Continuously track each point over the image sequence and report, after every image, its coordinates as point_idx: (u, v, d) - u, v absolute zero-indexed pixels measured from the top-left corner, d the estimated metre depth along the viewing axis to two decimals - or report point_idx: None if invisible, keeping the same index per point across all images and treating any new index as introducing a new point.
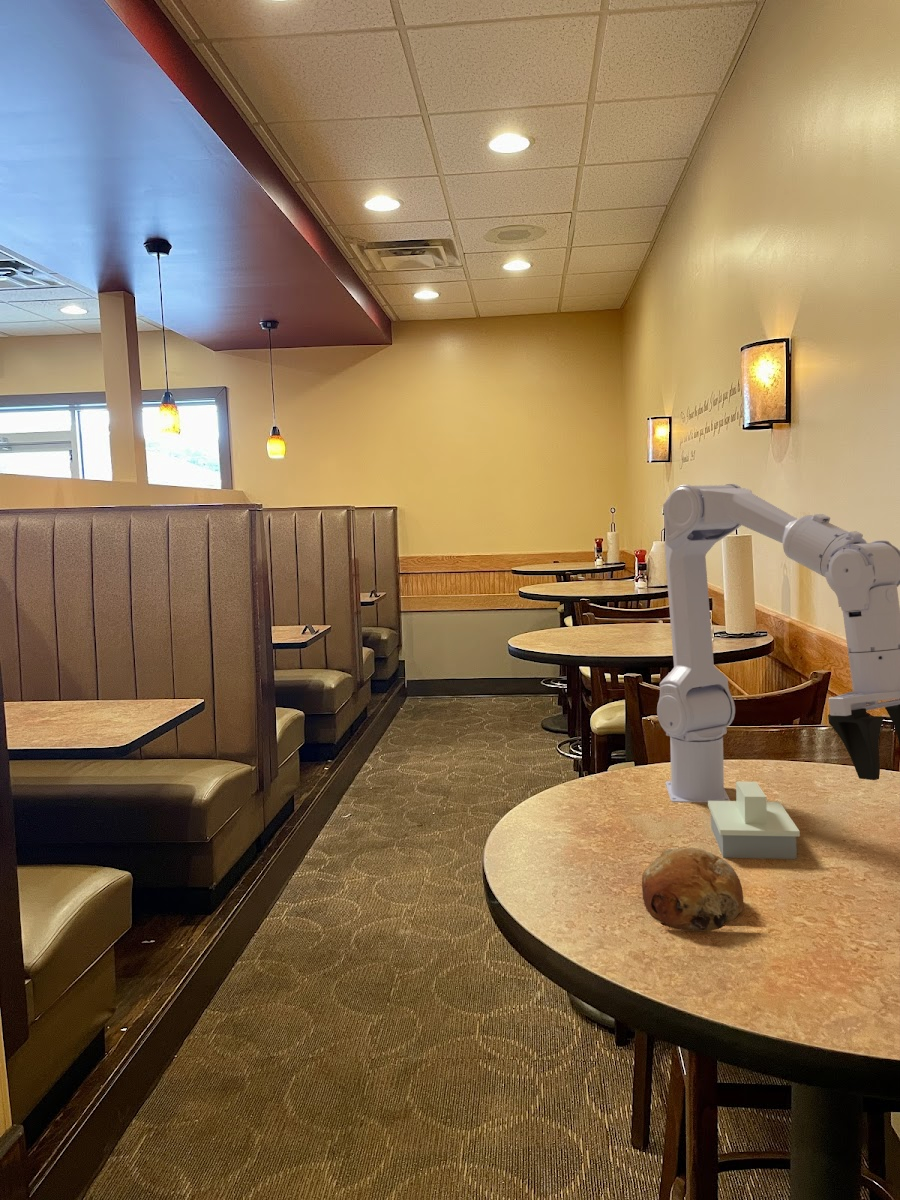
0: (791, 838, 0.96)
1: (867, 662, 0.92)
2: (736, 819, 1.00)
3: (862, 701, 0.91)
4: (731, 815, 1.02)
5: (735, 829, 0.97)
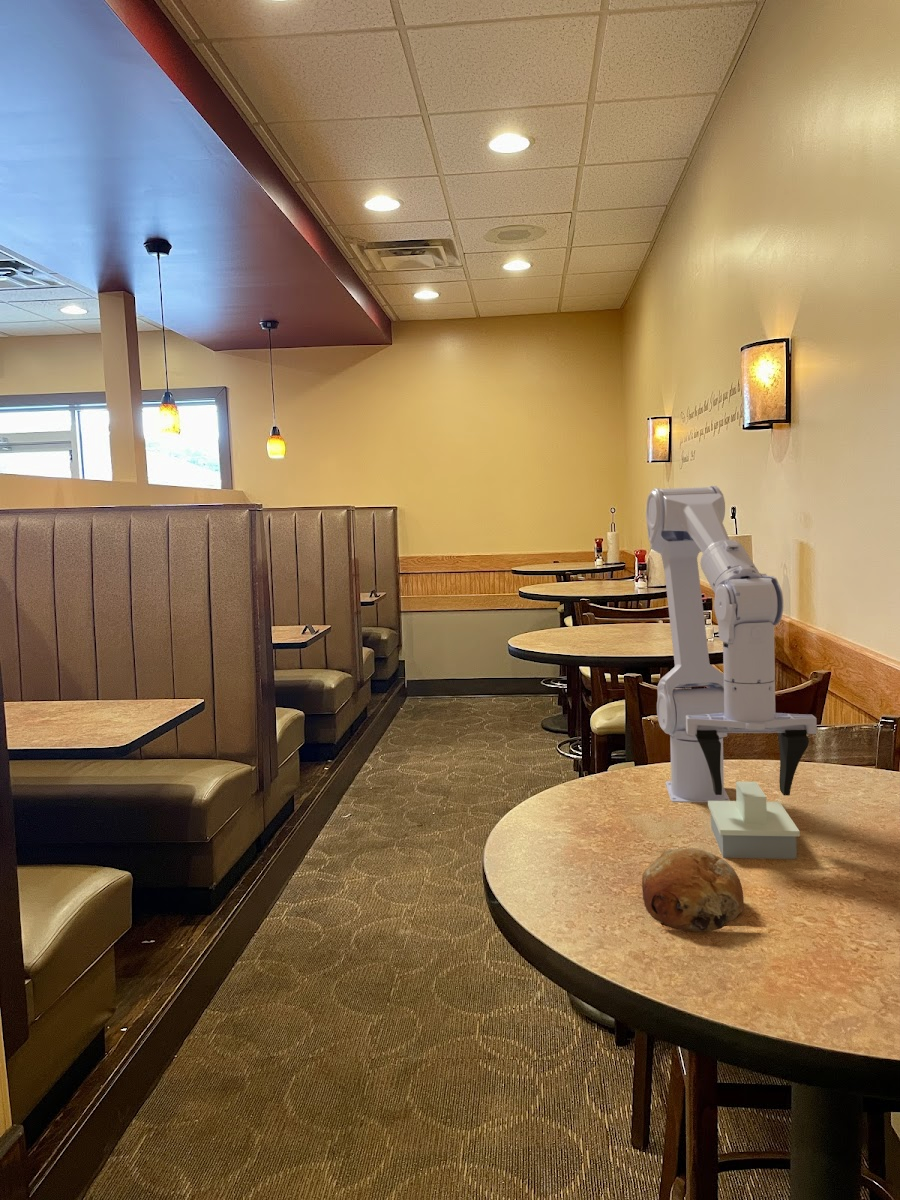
0: (791, 838, 0.96)
1: (726, 690, 1.00)
2: (736, 819, 1.00)
3: (707, 724, 1.00)
4: (731, 815, 1.02)
5: (735, 829, 0.97)
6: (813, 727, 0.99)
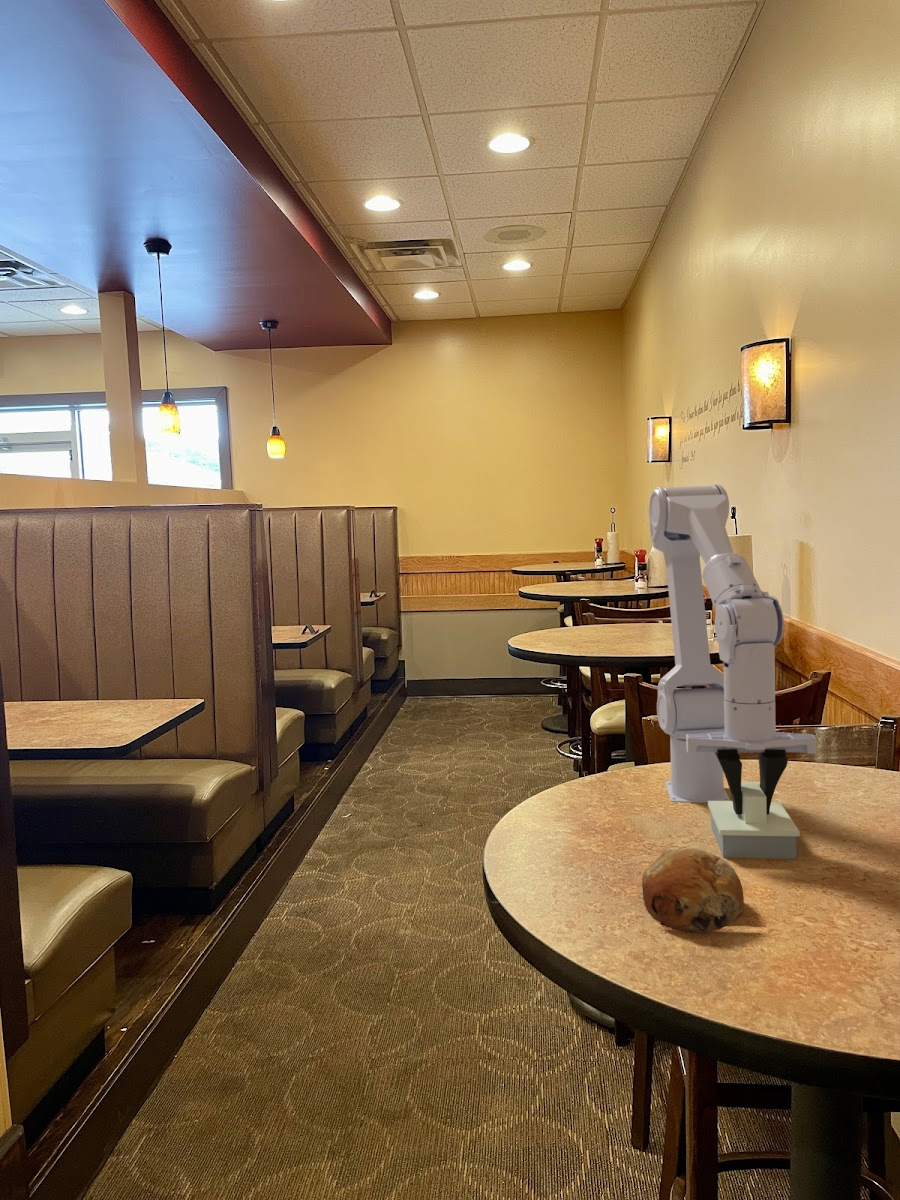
0: (791, 838, 0.96)
1: (726, 710, 1.00)
2: (736, 819, 1.00)
3: (708, 744, 1.00)
4: (731, 815, 1.02)
5: (735, 829, 0.97)
6: (813, 747, 0.99)
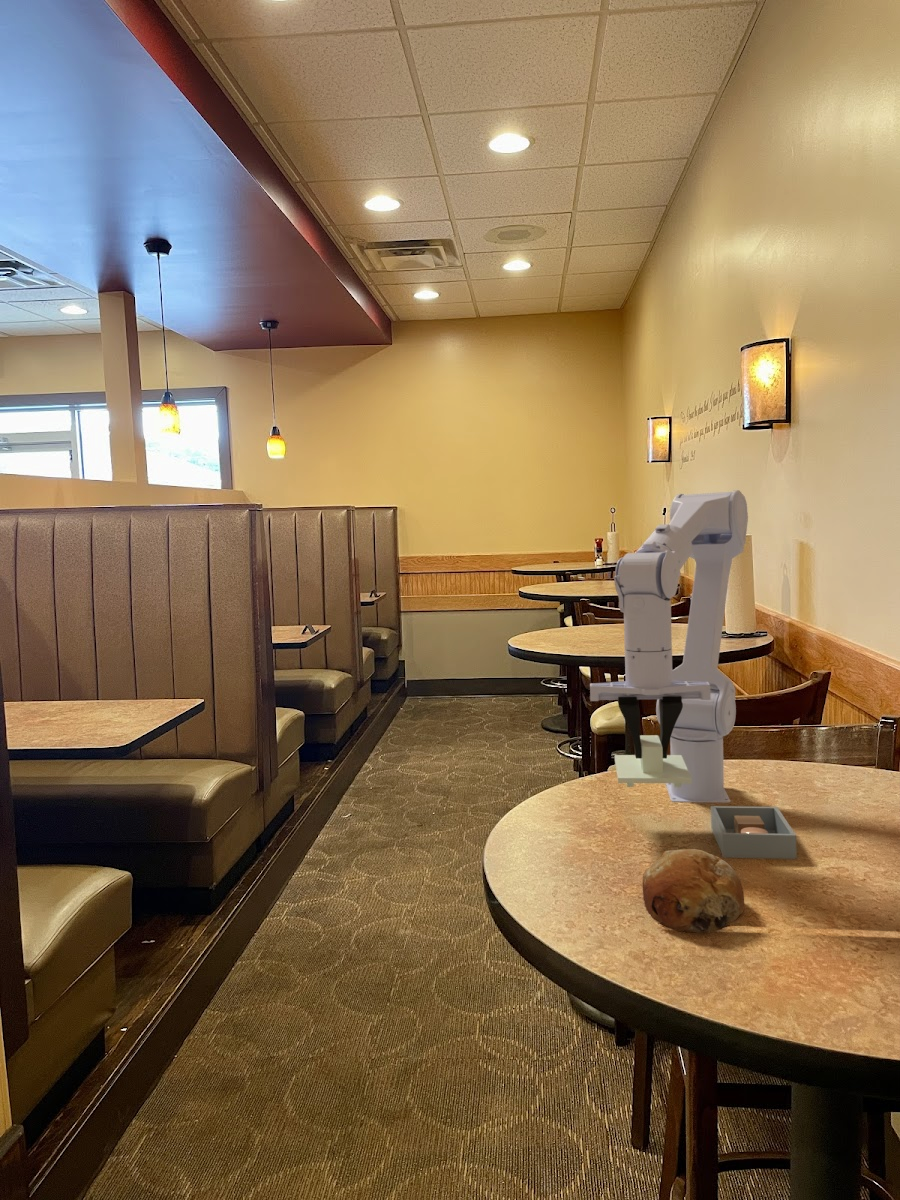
0: (791, 838, 0.96)
1: (626, 659, 1.05)
2: (635, 769, 1.06)
3: (608, 691, 1.05)
4: (632, 766, 1.07)
5: (632, 777, 1.02)
6: (707, 693, 1.04)
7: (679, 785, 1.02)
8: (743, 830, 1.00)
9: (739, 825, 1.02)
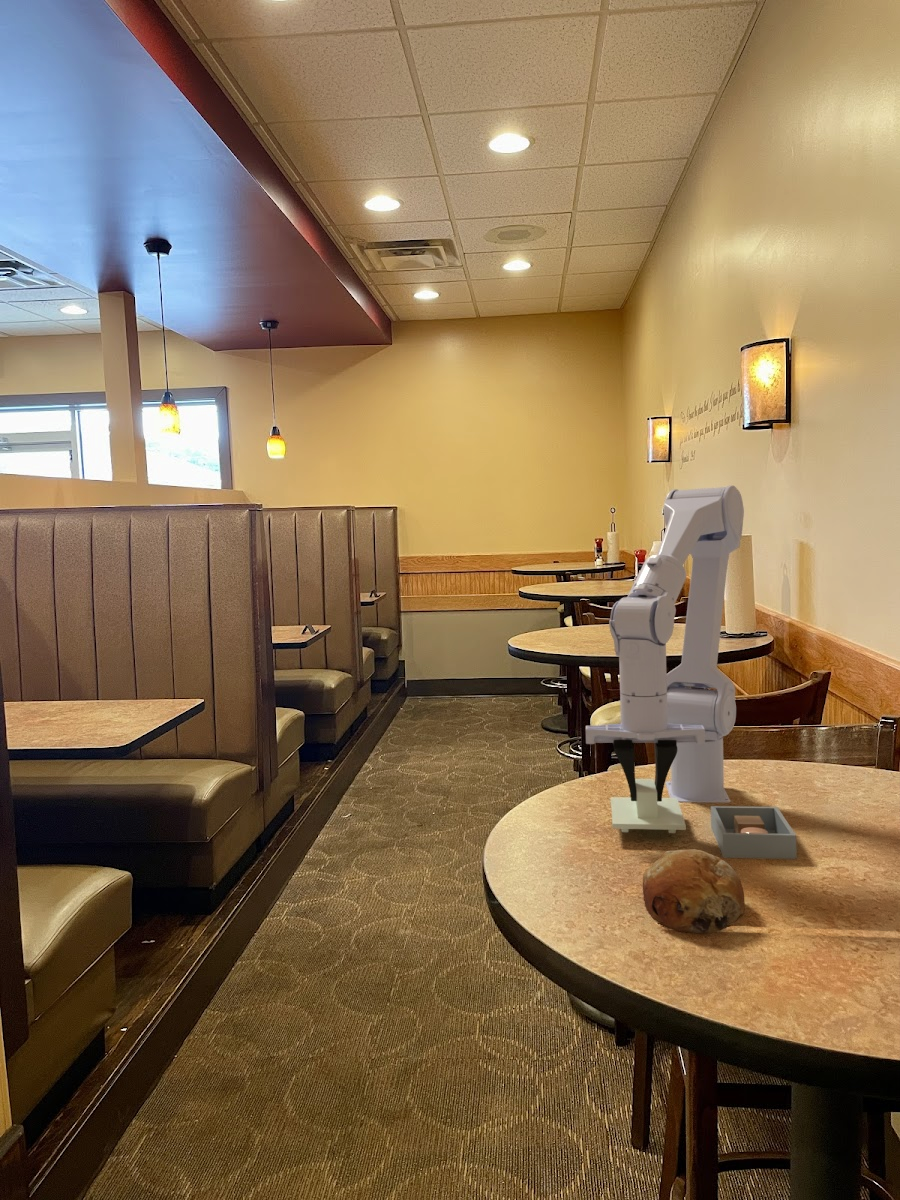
0: (791, 838, 0.96)
1: (621, 702, 1.06)
2: (630, 813, 1.06)
3: (604, 735, 1.06)
4: (627, 810, 1.08)
5: (626, 823, 1.03)
6: (702, 737, 1.05)
7: (673, 831, 1.03)
8: (743, 830, 1.00)
9: (739, 825, 1.02)
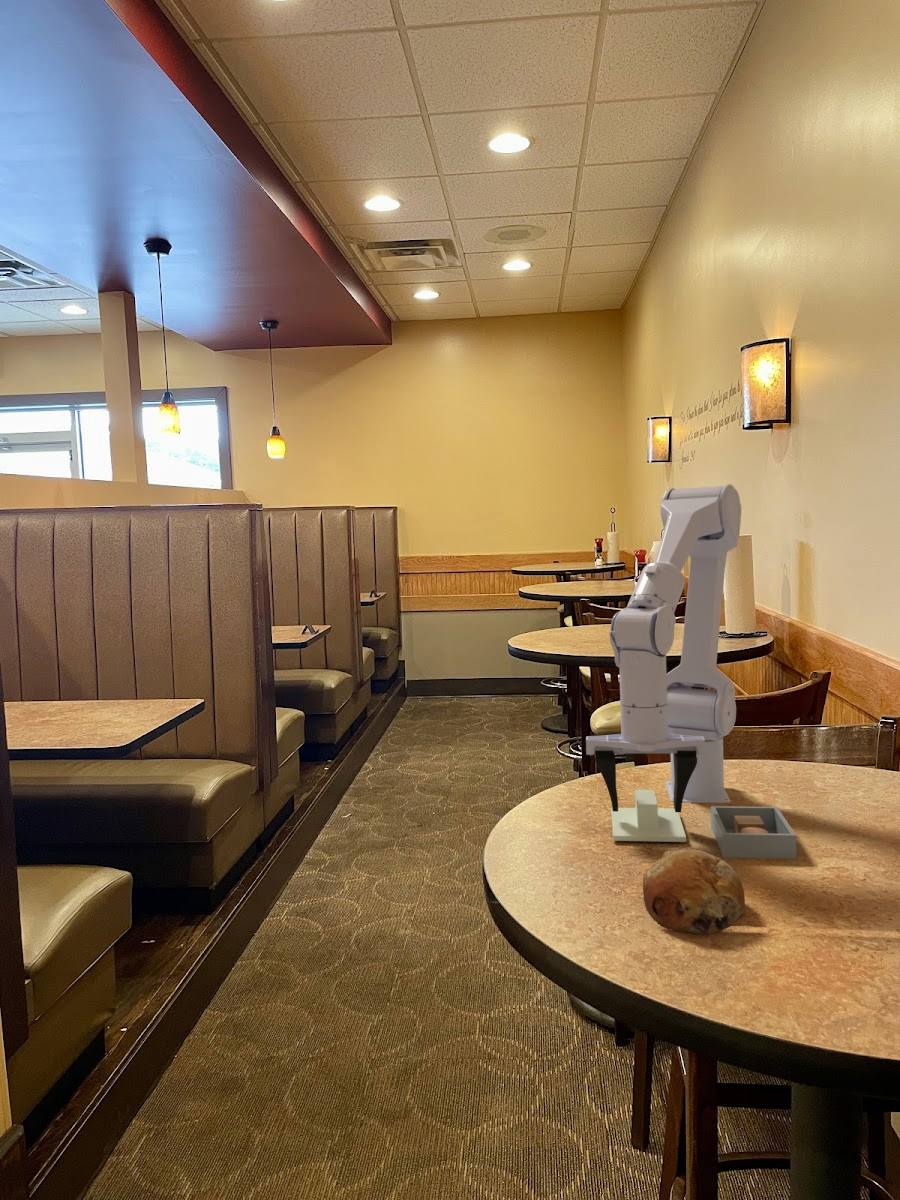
0: (791, 838, 0.96)
1: (622, 713, 1.06)
2: (631, 825, 1.07)
3: (604, 745, 1.06)
4: (628, 822, 1.08)
5: (627, 835, 1.03)
6: (702, 748, 1.05)
7: None
8: (743, 830, 1.00)
9: (739, 825, 1.02)
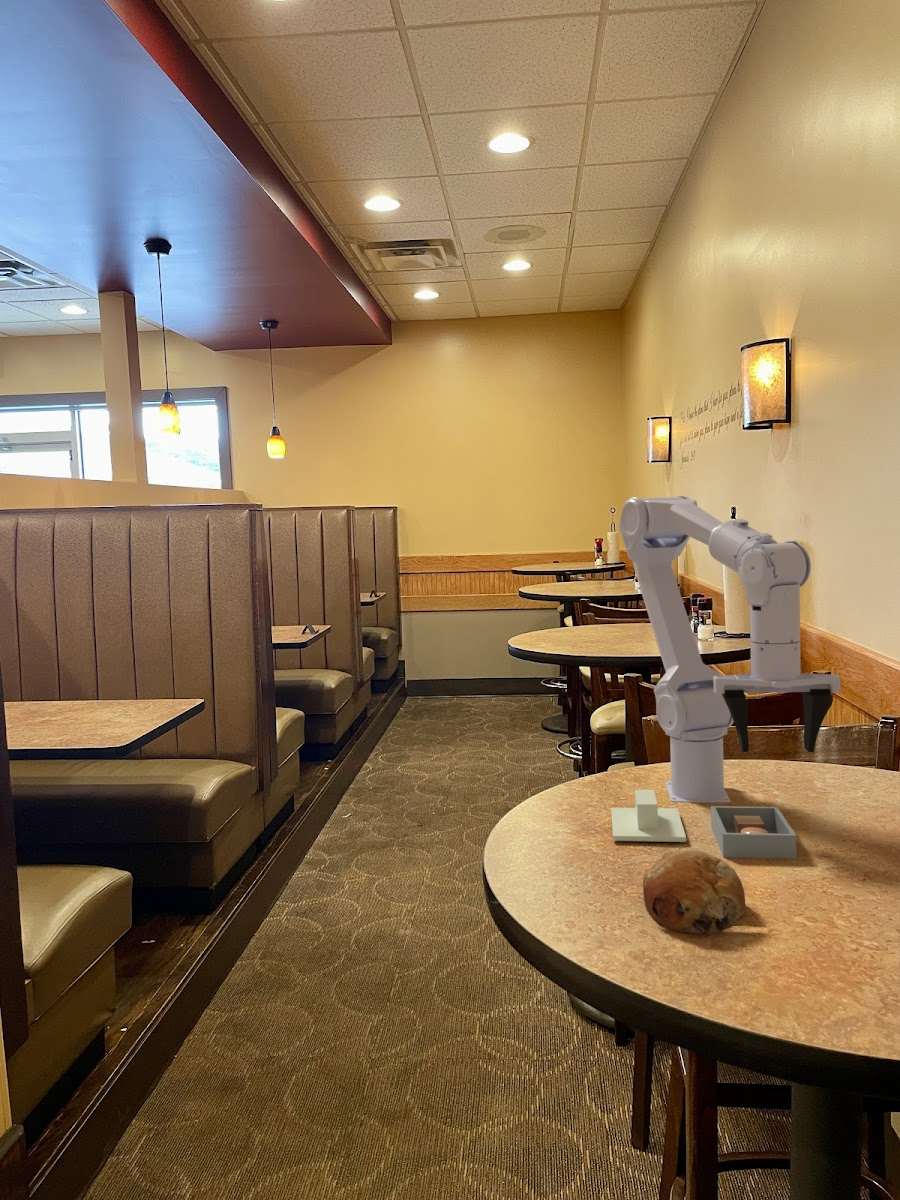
0: (791, 838, 0.96)
1: (753, 651, 1.04)
2: (631, 825, 1.07)
3: (735, 684, 1.04)
4: (628, 822, 1.08)
5: (627, 835, 1.03)
6: (837, 686, 1.02)
7: None
8: (743, 830, 1.00)
9: (739, 825, 1.02)
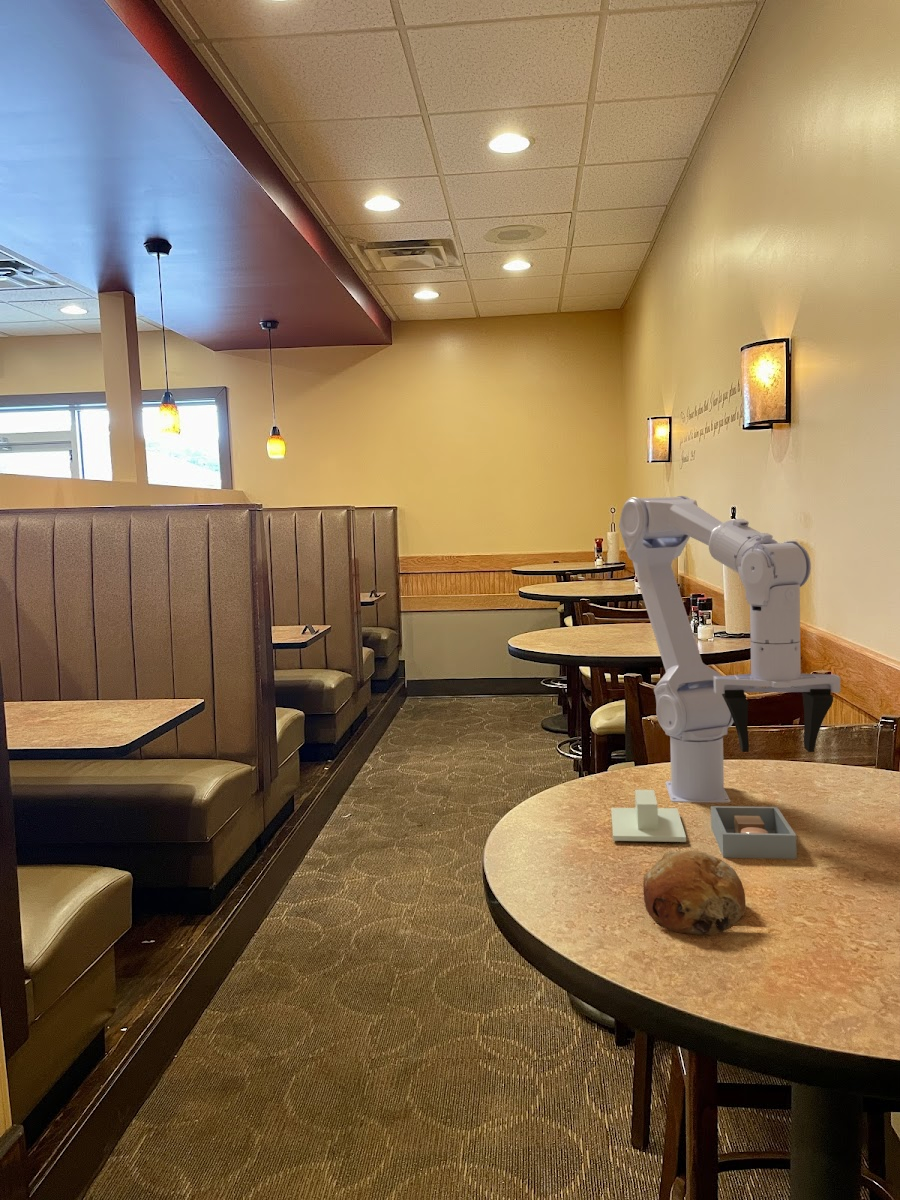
0: (791, 838, 0.96)
1: (753, 651, 1.04)
2: (631, 825, 1.07)
3: (735, 684, 1.04)
4: (628, 822, 1.08)
5: (627, 835, 1.03)
6: (837, 686, 1.03)
7: None
8: (743, 830, 1.00)
9: (739, 825, 1.02)
